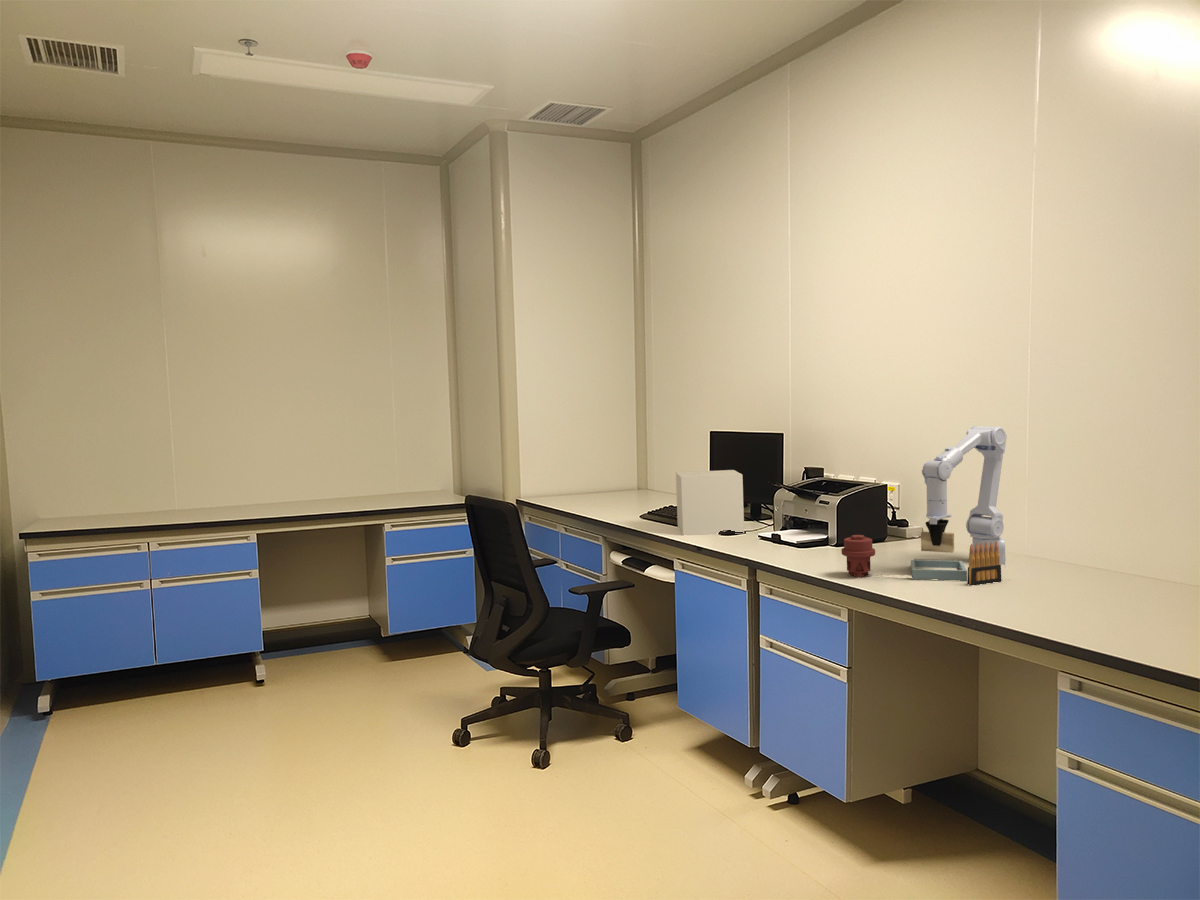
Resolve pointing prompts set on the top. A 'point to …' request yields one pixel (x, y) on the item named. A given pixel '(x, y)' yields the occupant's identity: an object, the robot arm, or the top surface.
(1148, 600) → the top surface
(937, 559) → the mounting plate
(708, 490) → the cube
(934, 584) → the top surface
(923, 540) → the wooden block
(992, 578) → the ammunition clip
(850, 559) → the mechanical component
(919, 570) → the bin
